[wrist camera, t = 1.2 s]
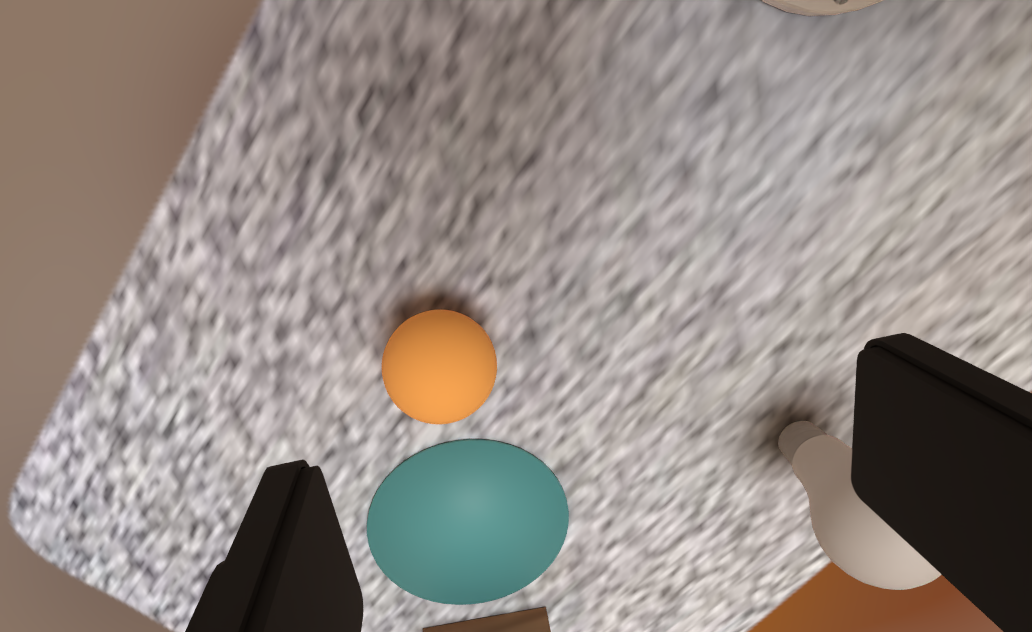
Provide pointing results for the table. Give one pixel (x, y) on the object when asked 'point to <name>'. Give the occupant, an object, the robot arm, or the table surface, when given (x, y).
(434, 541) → the disc
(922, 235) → the table surface
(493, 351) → the ball
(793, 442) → the lightbulb
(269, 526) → the robot arm
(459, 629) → the stopper strip
